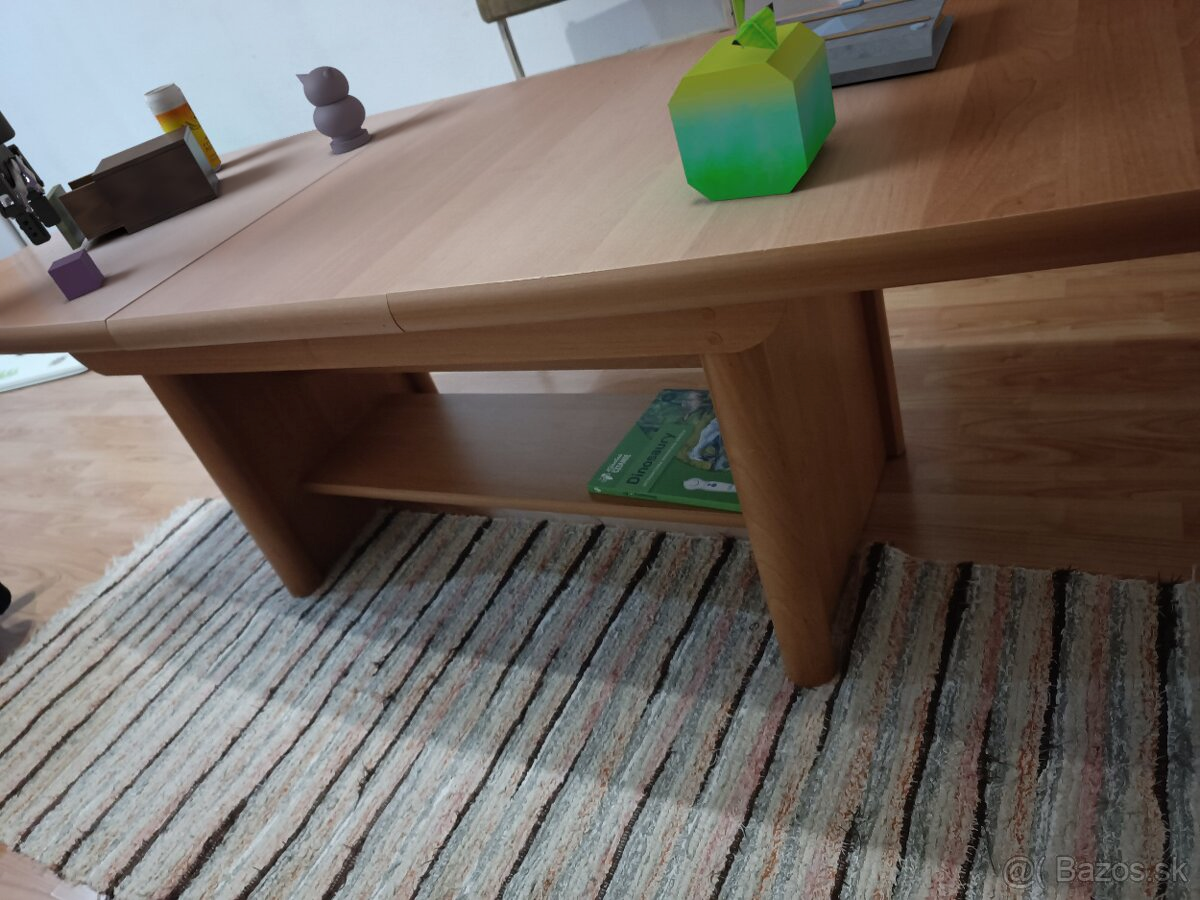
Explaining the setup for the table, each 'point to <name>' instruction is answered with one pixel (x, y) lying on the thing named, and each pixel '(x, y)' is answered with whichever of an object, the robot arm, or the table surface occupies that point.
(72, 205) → the drawer
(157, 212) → the cabinet
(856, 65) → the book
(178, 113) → the beer can
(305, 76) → the cat figurine
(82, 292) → the block
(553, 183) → the table surface
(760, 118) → the apple
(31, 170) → the robot arm
